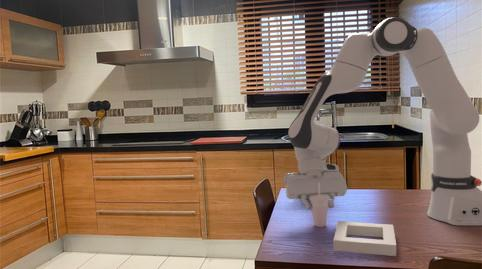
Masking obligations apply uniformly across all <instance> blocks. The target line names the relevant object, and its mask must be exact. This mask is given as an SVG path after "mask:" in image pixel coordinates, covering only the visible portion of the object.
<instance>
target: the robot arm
mask: <svg viewBox="0 0 482 269" xmlns="http://www.w3.org/2000/svg"><path fill="white" fill-rule="evenodd" d="M444 48H445V47H443V45H442V43H441V41H440V40H439V38H438V36H437V35H436V34H435V32H434V31H433V30H431V28H425V27H424V28H417V27H414V26H413V25H412V24H410V23H409V22H408V21H407V20H405V19H404V18H401V17H397V16H393V17H387V18H386V19H384V20H382V21H381V22H380V23H379V24H377V26H376V27H375V28H374V29H373V30H372V31H371V33H370V34H364V33H360V32H359V33H358V32H357V33H352V34H350V35H348V36H347V37H346V38H345V40H344V42H343V44H342V45H341V47H340V49H339V51H338V53H337V55H336V57H335V60H334V62H333V65H332V66H331V69H329V71H328V72H327V73H325V74H322V75H321V76H320V77H319V78H318V79H317V81H316V82H315V84H314V85H313V87H312V89H311V91H310V93H309V95H308V96H307V98H306V100H305V102H304V103H303V105H302V107H301V109H300V111H299V113H298V114H297V116H296V117H295V118H294V120H293V121H292V122H291V123H290V125H289V128H288V130H287V137H288V140H289V141H290V143H291V145H292V146H293V149H294V154H295V158H296V160H297V169H298V172H289V173H286V174H284V175H283V184H284V185H285V195H286V198H288V199H289V200H297V199H300V201H301V202H302V203H303V205H304V206H305V208H306V210H312V205H311V201H310V202H309V201H308V200H307V199H309V196H310V195H312V194H318V182H320V193H321V194H327V195H329V200H328V209H333V208H335V203H334V202H335V198H336V197H344V196H346V194H347V192H348V186H347V182H346V179H345V178H344V175H343V174H342V173H341V172H339V171H340V167H339V165H337V164H333V163H328V162H327V163H325V162H323V161H322V159H323V158H325V157H326V158H328V157H329V156H330V155H333V153H335V152H336V151H337V150H338V149H339V146H340V144H341V135H340V133H339V130H338V129H336V128H335V127H332V126H329V125H327V124H322V123H319V122H316V121H315V118H316V117H317V115H318V113H319V111H320V109H321V108H322V106H323V104H324V102H325V101H326V99H328V98H329V97H330V96H333V95H337V94H347V93H351V92H354V91H356V90H358V88H360V87H361V86H362V83H364V80H365V78H366V76H367V72H368V69H369V67H370V64H371V62H372V61H373V59H374V58H389V57H391V56H394V55H396V54H398V53H399V54H401V55H403V56H404V57H405V59H406V60H407V61H408V64H409V67H410V69H411V72H412V74H413V76H414V78H415V80H416V82H417V86H418V88H419V89H420V92H421V94H422V95H423V96H424V98H425V99H426V101H427V103H428V105H429V106H430V112H429V119H430V121H429V122H430V123H429V124H430V134H431V142H432V143H431V145H432V173H431V175H430V176H431V177H430V190H431V196H430V202H429V206H428V210H427V212H426V215H427V216H428V217H430V218H432V219H433V220H436V221H441V222H444V223H446V224H447V223H448V224H450V225H453V226H482V189H480V188H478V187H480V186H481V185H482V180H481V179H479V178H477V177H476V176H473V175H472V174H471V173H472V172H471V171H472V170H471V169H472V150H471V147H470V144H469V143H470V142H469V137H468V136H469V135H468V134H469V133H472V132H473V131H474V130H475V129H476V128H477V127H478V126H479V123H480V114H479V111H478V110H477V107H475V105H474V104H473V102H472V100H471V98H470V96H469V95H468V93H467V91H466V90H465V89H464V86H463V85H462V83H461V82H460V81H459V79H458V77H457V75H456V73H455V70H454V68H453V66H452V63H451V61H450V60H449V57H448V54H447V52H446V50H445V49H444Z"/></svg>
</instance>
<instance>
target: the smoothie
mask: <svg viewBox="0 0 482 269" xmlns="http://www.w3.org/2000/svg"><path fill="white" fill-rule="evenodd" d="M308 199H309V201H310V202H311V205H312V208H311V212H312V218H313V224H314V226H315V227H318V228H322V227H323V228H324V227H325V226H327V218H328V217H327V216H328V209H329V206H328V203H329V201H330V198H329V195H327V194H321V193H320V182H318V194H312V195H310V196H309V198H308Z"/></svg>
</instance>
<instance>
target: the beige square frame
mask: <svg viewBox="0 0 482 269" xmlns="http://www.w3.org/2000/svg"><path fill="white" fill-rule="evenodd" d="M349 235H350V236H360V237H348V236H349ZM361 236H362V237H363V238H361ZM364 237H375V238H376V237H377V238H382V239H373V238H364ZM332 241H333V252H345V253H354V254H355V253H356V254H367V255H380V256H387V257H388V256H390V257H391V256H392V257H397V241H396V235H395V229H394V224H389V223H387V224H386V223H385V224H384V223H370V222H358V221H356V222H354V221H343V220H342V221H341V220H340V221H339V220H338V221H337V223H336V228H335V233H334V236H333V240H332Z"/></svg>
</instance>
